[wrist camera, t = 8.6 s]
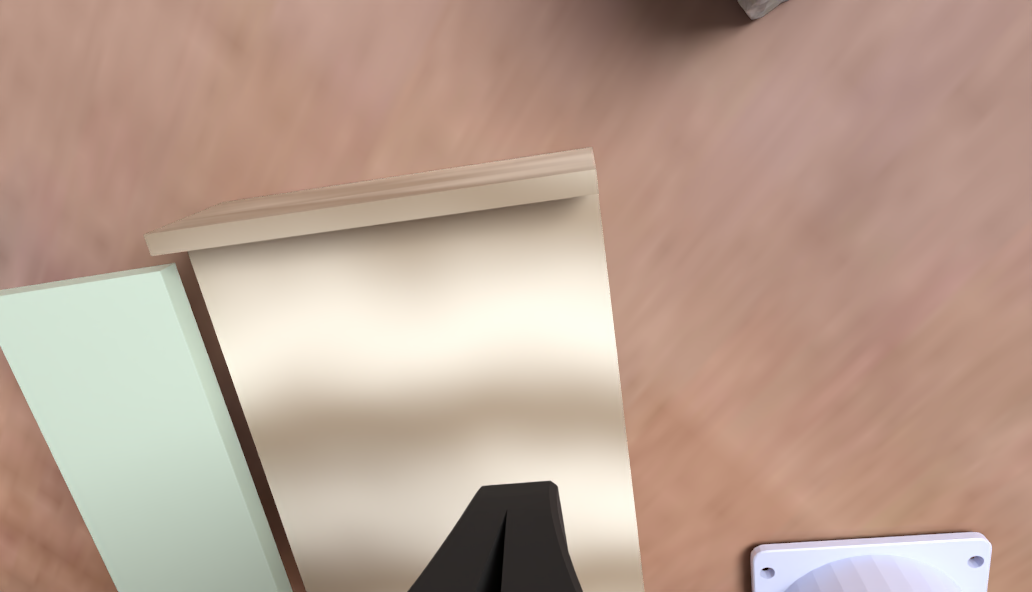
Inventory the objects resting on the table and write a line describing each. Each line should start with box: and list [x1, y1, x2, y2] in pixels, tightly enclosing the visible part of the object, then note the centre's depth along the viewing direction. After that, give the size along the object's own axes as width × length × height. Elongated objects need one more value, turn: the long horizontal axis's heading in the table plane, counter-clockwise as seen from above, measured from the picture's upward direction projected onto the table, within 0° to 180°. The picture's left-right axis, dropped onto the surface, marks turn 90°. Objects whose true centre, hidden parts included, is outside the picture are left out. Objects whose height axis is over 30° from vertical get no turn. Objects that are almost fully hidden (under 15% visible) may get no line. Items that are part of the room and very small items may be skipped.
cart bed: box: [144, 147, 644, 592], centre depth 20 cm, size 16×12×4 cm
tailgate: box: [0, 263, 293, 592], centre depth 21 cm, size 14×1×6 cm
